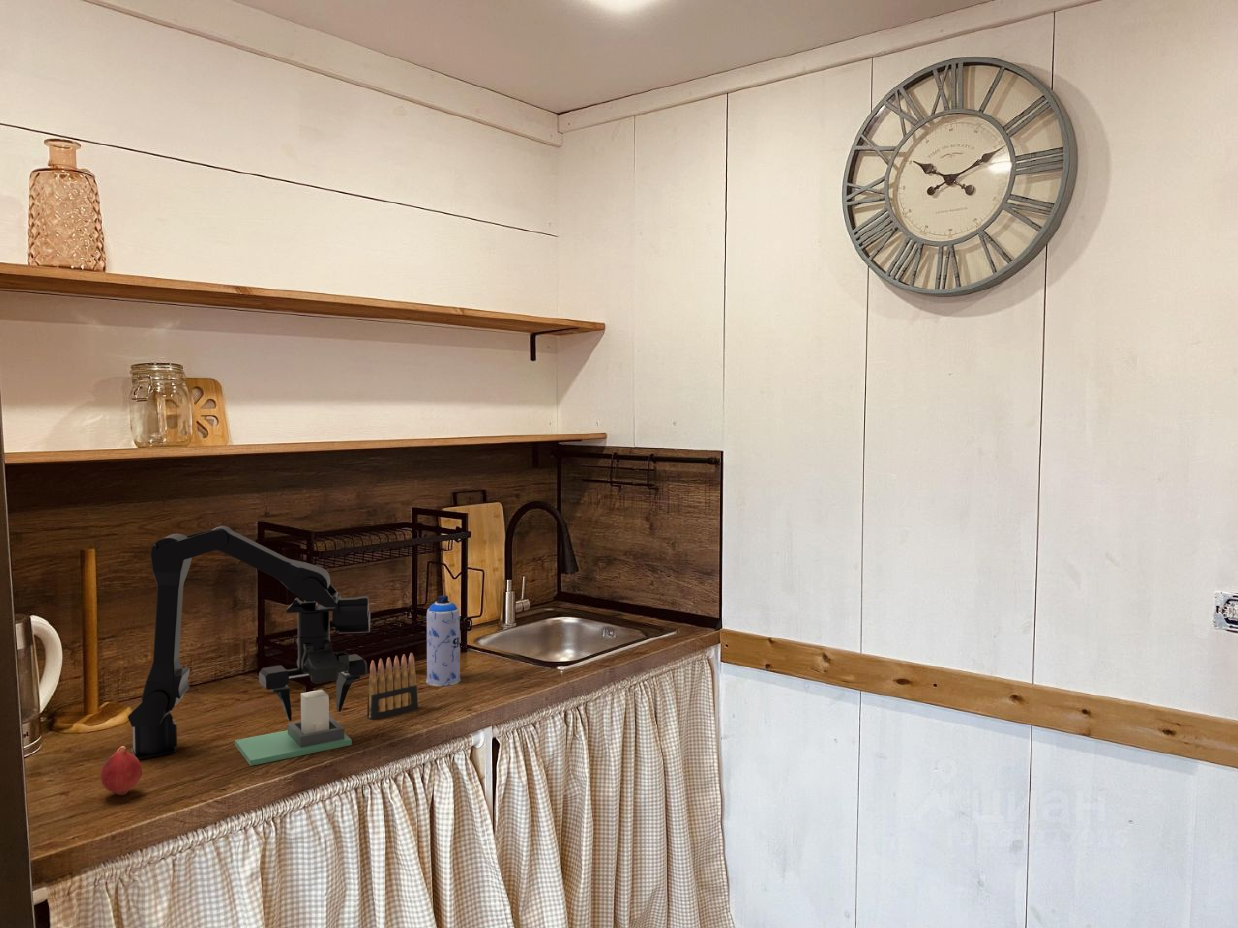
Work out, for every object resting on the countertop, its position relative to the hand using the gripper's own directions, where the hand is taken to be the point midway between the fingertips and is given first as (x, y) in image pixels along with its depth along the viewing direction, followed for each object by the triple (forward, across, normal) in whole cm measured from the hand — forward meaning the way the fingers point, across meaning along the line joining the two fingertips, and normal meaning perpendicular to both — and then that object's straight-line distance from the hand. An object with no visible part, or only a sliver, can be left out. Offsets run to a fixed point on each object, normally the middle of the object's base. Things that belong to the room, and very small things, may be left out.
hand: (314, 715), depth 170 cm
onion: (+5, -33, -7) cm, 34 cm away
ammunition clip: (+5, +18, +7) cm, 20 cm away
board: (+5, -4, 0) cm, 6 cm away
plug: (+4, 0, 0) cm, 4 cm away
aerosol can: (+5, +36, +22) cm, 43 cm away
